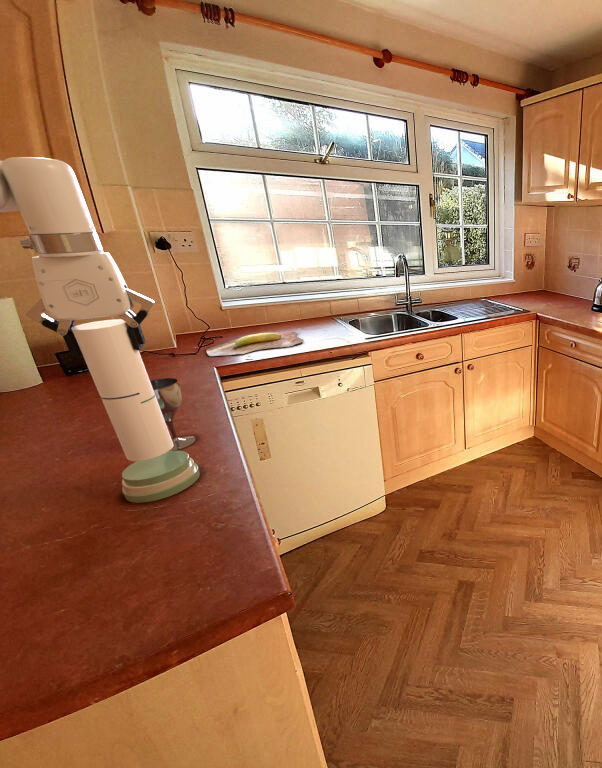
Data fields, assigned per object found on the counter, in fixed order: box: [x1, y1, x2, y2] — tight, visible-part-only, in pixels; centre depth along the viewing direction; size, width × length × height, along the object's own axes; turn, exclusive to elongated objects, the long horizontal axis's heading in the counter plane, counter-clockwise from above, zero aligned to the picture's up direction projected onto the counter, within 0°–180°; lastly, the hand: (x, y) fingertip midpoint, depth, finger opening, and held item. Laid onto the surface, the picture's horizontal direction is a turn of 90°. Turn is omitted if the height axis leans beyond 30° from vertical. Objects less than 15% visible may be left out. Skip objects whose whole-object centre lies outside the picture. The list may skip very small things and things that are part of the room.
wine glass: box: [150, 377, 197, 451], centre depth 96 cm, size 8×8×15 cm
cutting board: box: [205, 331, 305, 357], centre depth 174 cm, size 35×27×4 cm
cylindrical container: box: [71, 318, 174, 462], centre depth 77 cm, size 7×7×25 cm
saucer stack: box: [121, 450, 201, 504], centre depth 83 cm, size 12×12×4 cm
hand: (111, 351), depth 74 cm, fingers closed on cylindrical container, 7 cm apart
